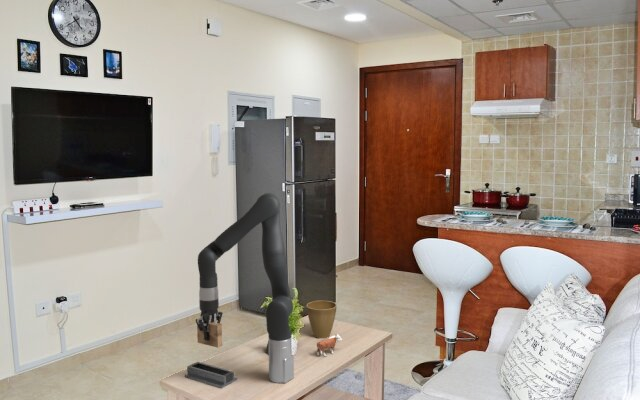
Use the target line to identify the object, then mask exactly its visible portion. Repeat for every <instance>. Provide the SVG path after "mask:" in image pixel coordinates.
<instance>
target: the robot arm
mask: <svg viewBox="0 0 640 400" xmlns="http://www.w3.org/2000/svg"><path fill="white" fill-rule="evenodd" d="M251 206H252V207H250V209H249V210H247V211H246V213H245V214H244V215H243V216H242V217H240V218H239V219H238V220H236V221H235V222H234V223H232V224H231V225H230V226H229V227H227V228H226V229H225V230H223V232H221V233H220V234H219V235H218V236H217V237H216V238H215V239H214V240H213V241H211V242H210V243H209V244H208V245H206V246H205V247H204V248H203V249H202V250H201V251H200V252H199V254H197V267H198V274H199V290H198V291H199V292H198V298H199V300H198V301H199V302H198V303H199V310H200V316H199V317H198V318H196V319H195V323H196V326H197V325H198V328H199V330H200V331H203V332H204V339H205V341H209V340H210V333H209V329H210V324H211V322H215V323H220V324H221V320H222V317H223V311H219V310H218V309H219V306H220V305H219V286H218V274H217V272H216V269H217V268H216V261H218V260H219V259H220V258H221V257H222V256H223V255H224V254H225V253H227V252H229V251H230V250H231V249H232V248H234V247H235V246H236V245H237V244H238V243H239V242H240V241H241V240H242V239H243V238H245V237H246V236H247V235H248V234H249V233H250V232H251V231H252V230H254V228H255V227H256V226H258V225H259V224H261V230H262V231H261V232H262V234H261V235H262V237H261V254H262V263H263V267H264V271H265V274H266V275H267V278H268V279H269V283H270V286H271V295H272V296H271V298H272V299H271V301H270V302H269V303H268V305H267V306H266V311H265V312H266V313H265V314H266V316H265V317H266V318H265V319H266V331H267V336H268V340H269V354H268V379H269V380H270V382H273V383H276V384H277V383H278V384H280V383H281V384H282V383H283V384H286V383H288V382H290V381H291V380H293V379H294V378H295V367H294V366H295V364H294V363H295V360H294V359H295V355H293V353H292V330H291V329H290V321H289V320H290V315H292V313H293V310H294V304H293V300H292V295H291V290H290V285H289V278H288V277H289V276H288V275H289V274H288V265H287V256H286V248H285V247H286V246H285V243H284V238H283V237H284V236H283V233H282V230H281V229H282V228H281V218H280V217H281V216H280V211H281V209H280V206H281V204H280V200H279V198H278V197H277V196H276V195H275V194H273V193H270V192H267V193H264V194H262V195H260V196H259V197H258V198H257V199H256V201H255V203H254V204H253V205H251ZM206 323H208V324H206ZM206 326H207V329H206Z"/></svg>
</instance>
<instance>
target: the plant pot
mask: <svg viewBox="0 0 640 400" xmlns="http://www.w3.org/2000/svg"><path fill="white" fill-rule="evenodd" d="M337 307H338V306H337V303H336V302H334V301H331V300H314V301H311V302H308V303H306V311H307V316H308V321H309V324H310V329H311V331H312V333H313V337H315V338H316V337H317V339H320V338H324V339H328V338H329V337H331V336H330V335H331V334H332V333H331V332H332V330H333V326H334V323H335V318H336V312H337ZM327 337H328V338H327Z"/></svg>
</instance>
